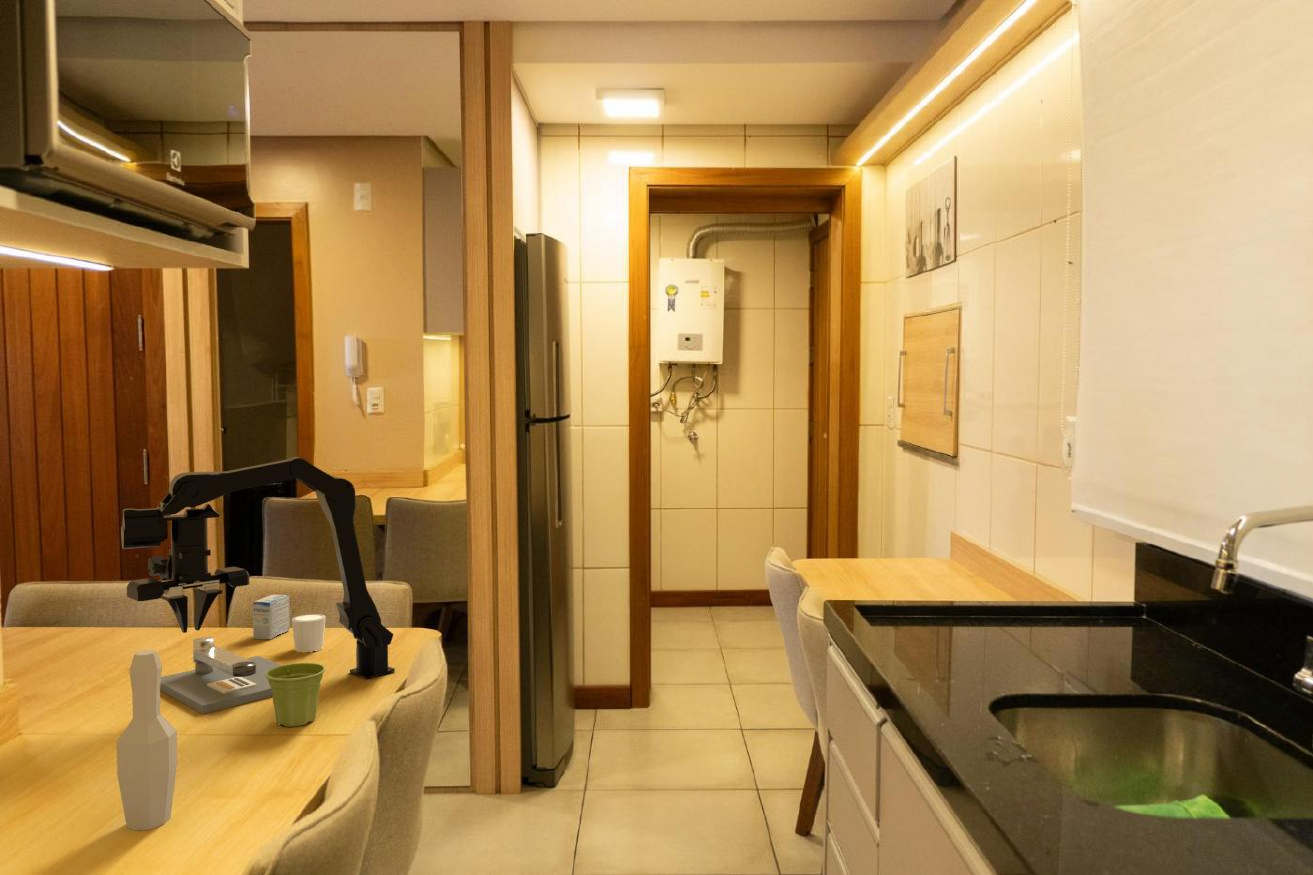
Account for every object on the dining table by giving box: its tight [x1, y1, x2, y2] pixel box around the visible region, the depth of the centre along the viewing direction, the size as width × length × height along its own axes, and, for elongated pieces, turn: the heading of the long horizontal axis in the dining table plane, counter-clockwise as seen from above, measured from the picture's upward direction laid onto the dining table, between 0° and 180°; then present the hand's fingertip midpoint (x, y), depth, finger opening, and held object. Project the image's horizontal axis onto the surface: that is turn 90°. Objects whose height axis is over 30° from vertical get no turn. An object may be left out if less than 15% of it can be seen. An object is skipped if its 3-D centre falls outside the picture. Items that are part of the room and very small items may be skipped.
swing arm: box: [192, 636, 256, 677], centre depth 164 cm, size 21×4×4 cm, turn 50°
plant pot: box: [265, 662, 326, 728], centre depth 148 cm, size 9×9×9 cm
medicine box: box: [252, 594, 291, 640], centre depth 202 cm, size 8×4×9 cm, turn 172°
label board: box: [160, 655, 282, 715], centre depth 166 cm, size 22×20×4 cm
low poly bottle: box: [116, 649, 178, 831], centre depth 112 cm, size 6×6×22 cm
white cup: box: [291, 613, 326, 653], centre depth 191 cm, size 7×7×7 cm
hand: (190, 631), depth 156 cm, fingers closed
